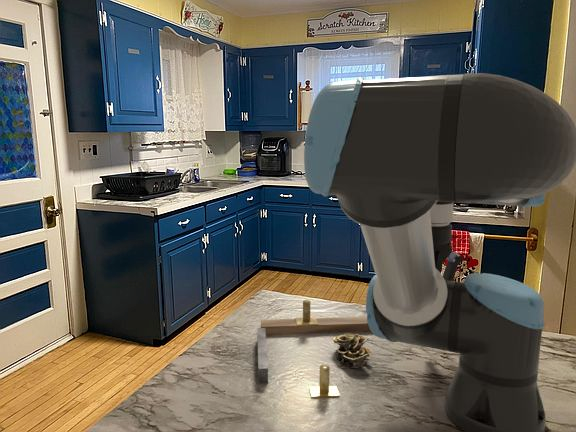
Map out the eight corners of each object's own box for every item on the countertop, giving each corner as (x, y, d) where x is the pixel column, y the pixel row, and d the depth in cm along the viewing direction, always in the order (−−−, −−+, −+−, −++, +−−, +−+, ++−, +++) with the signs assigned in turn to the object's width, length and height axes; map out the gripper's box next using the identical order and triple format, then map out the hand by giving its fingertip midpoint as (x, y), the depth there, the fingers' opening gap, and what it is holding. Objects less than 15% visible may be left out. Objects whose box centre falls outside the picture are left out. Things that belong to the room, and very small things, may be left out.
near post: (339, 396, 80) (339, 371, 79) (311, 397, 79) (312, 372, 78) (336, 387, 83) (336, 362, 82) (309, 388, 82) (309, 363, 81)
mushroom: (370, 371, 89) (371, 351, 88) (333, 369, 90) (333, 349, 89) (367, 344, 100) (367, 326, 100) (334, 342, 101) (334, 325, 101)
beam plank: (385, 330, 107) (386, 302, 106) (261, 334, 105) (260, 305, 103) (380, 323, 111) (381, 296, 110) (260, 327, 109) (260, 299, 107)
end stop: (268, 383, 84) (268, 368, 84) (258, 383, 84) (258, 368, 83) (265, 340, 102) (265, 328, 101) (257, 340, 102) (257, 328, 101)
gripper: (455, 218, 95) (448, 321, 99) (395, 219, 94) (391, 323, 98) (472, 225, 87) (464, 336, 92) (407, 226, 86) (402, 339, 91)
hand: (426, 330), depth 95 cm, fingers closed
